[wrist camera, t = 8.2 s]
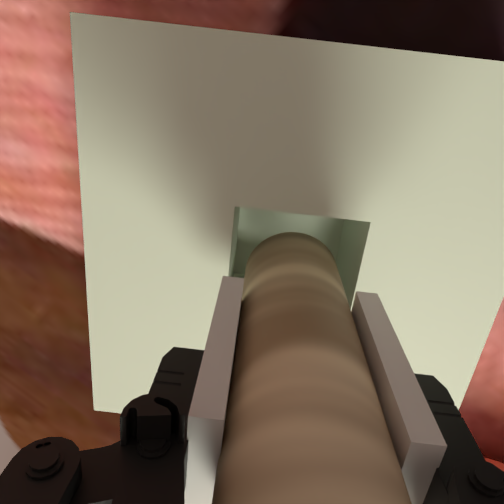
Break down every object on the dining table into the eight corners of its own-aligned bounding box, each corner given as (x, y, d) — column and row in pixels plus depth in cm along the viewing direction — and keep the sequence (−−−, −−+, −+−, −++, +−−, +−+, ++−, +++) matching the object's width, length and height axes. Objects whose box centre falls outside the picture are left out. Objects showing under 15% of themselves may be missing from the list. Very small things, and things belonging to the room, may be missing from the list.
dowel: (250, 226, 18) (135, 973, 3) (345, 237, 18) (678, 1038, 3) (241, 308, 19) (137, 1056, 5) (328, 318, 19) (496, 1099, 5)
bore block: (126, 26, 20) (69, 11, 15) (505, 70, 20) (592, 71, 15) (130, 341, 27) (94, 410, 22) (408, 373, 27) (442, 451, 22)
